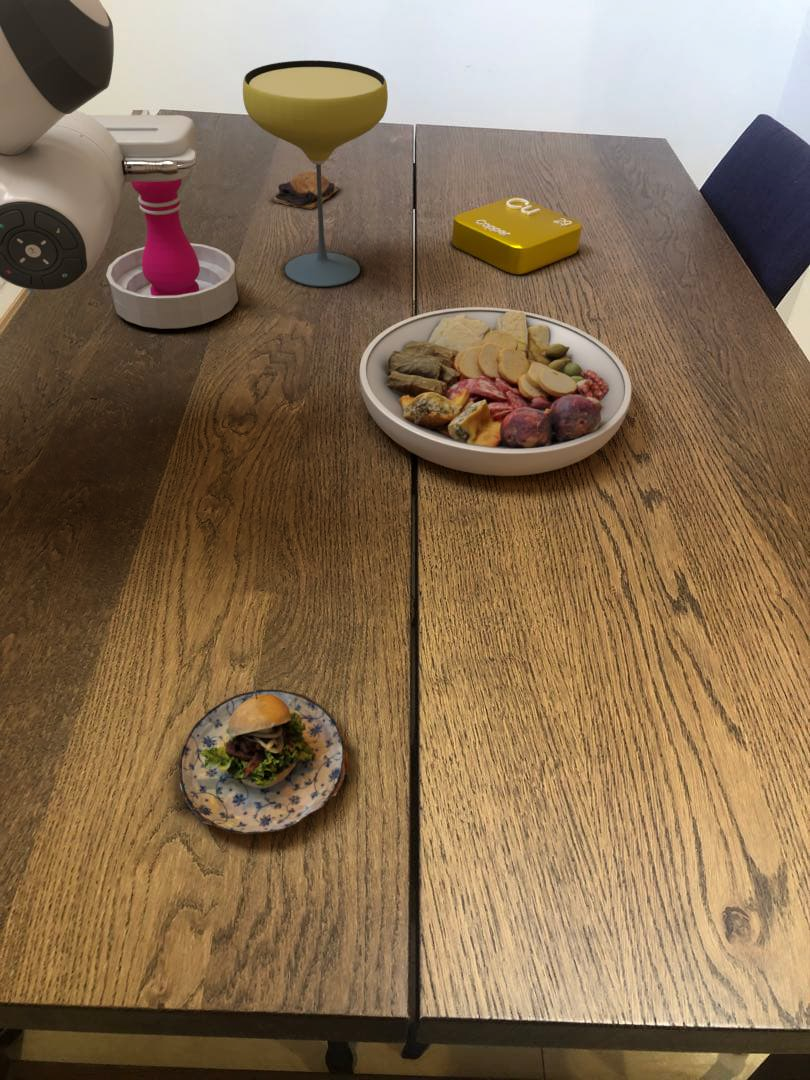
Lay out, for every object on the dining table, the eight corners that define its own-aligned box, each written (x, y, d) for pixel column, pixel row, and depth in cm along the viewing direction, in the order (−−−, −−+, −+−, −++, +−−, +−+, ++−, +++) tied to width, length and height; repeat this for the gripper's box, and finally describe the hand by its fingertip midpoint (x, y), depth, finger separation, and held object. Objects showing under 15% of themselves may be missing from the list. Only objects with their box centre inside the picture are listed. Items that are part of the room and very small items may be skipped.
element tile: (446, 243, 127) (448, 212, 123) (511, 220, 134) (515, 190, 131) (517, 278, 119) (521, 246, 115) (583, 251, 126) (588, 220, 123)
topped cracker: (300, 181, 144) (299, 159, 142) (343, 190, 142) (342, 168, 139) (268, 201, 137) (266, 178, 134) (312, 210, 134) (311, 187, 132)
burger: (155, 831, 55) (134, 772, 50) (212, 690, 64) (199, 628, 59) (328, 860, 54) (324, 803, 49) (362, 714, 63) (362, 652, 58)
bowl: (307, 394, 95) (304, 333, 89) (491, 319, 109) (498, 263, 104) (487, 532, 78) (496, 467, 73) (676, 423, 93) (695, 362, 88)
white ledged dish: (107, 336, 103) (98, 299, 100) (122, 278, 115) (114, 244, 111) (237, 331, 105) (233, 295, 101) (239, 275, 117) (235, 241, 113)
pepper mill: (192, 314, 106) (167, 152, 92) (139, 308, 107) (106, 146, 93) (211, 289, 111) (190, 132, 98) (160, 284, 112) (132, 127, 98)
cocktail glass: (301, 311, 109) (288, 108, 92) (237, 261, 120) (215, 70, 103) (409, 279, 117) (416, 86, 100) (341, 234, 128) (337, 53, 111)
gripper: (190, 130, 68) (198, 83, 78) (-72, 129, 65) (-29, 81, 75) (200, 206, 72) (206, 152, 82) (-45, 209, 70) (-8, 153, 80)
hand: (92, 118), depth 79 cm, fingers open, 8 cm apart
